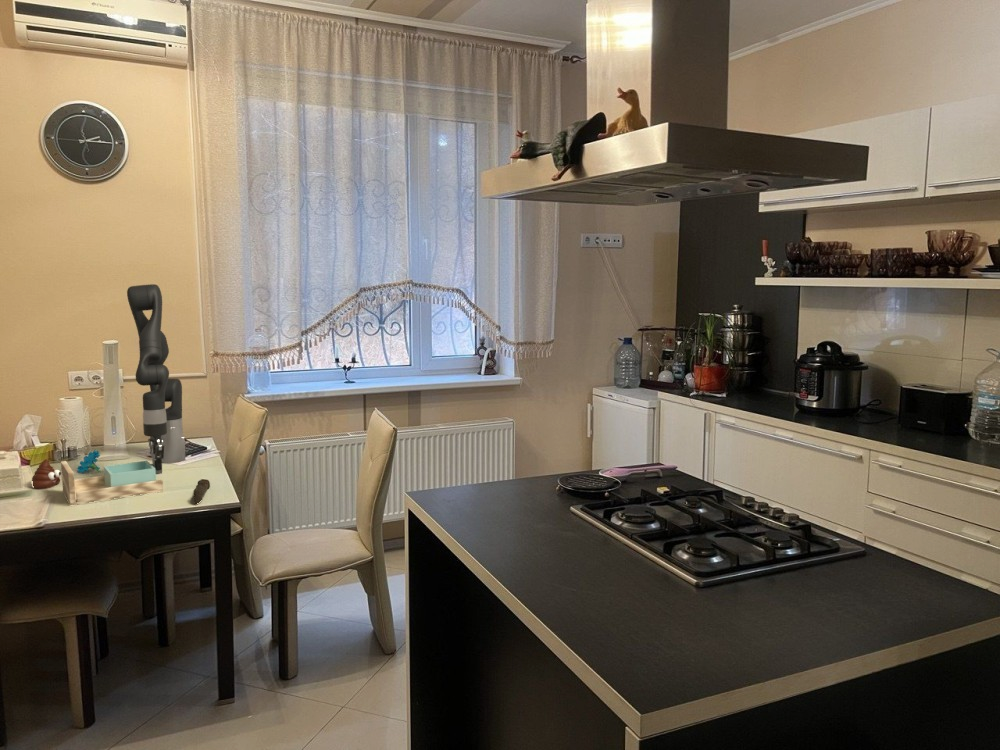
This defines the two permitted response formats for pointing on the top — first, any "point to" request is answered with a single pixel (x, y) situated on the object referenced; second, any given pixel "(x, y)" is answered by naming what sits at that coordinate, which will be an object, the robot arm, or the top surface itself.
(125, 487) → the bay
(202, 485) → the dark brown lumpy rod
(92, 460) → the gear
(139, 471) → the crate
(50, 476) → the poop emoji
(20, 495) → the top surface
